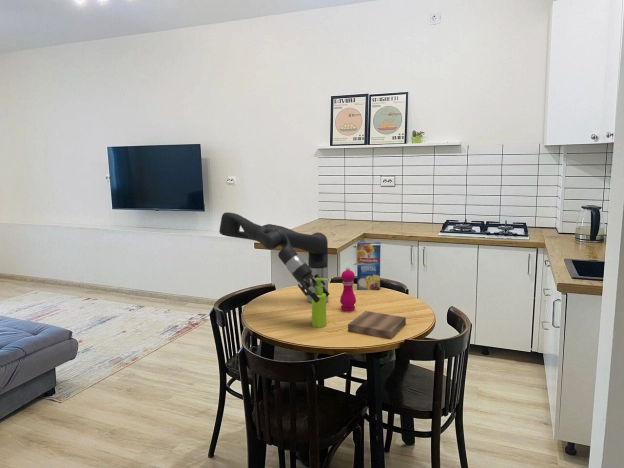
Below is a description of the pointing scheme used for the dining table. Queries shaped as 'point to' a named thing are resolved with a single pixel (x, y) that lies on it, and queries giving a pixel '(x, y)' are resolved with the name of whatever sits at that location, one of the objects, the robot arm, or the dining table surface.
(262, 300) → the dining table surface
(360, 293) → the dining table surface
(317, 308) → the soap dispenser
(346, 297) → the pepper mill
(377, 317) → the walnut board
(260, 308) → the dining table surface
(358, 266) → the juice carton
